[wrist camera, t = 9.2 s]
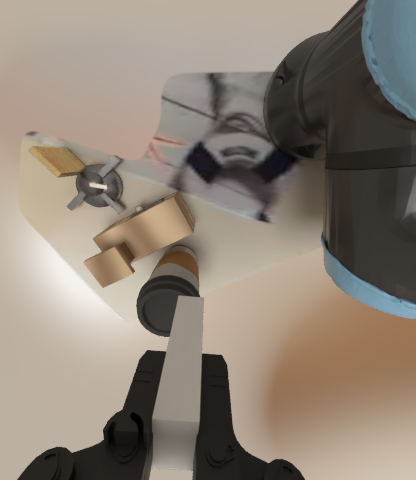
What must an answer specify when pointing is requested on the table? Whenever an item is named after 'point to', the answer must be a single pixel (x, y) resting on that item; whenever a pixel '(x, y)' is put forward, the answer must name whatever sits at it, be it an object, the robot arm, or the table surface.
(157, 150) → the table surface
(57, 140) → the table surface
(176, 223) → the wooden drawer box
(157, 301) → the coffee cup
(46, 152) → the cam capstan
